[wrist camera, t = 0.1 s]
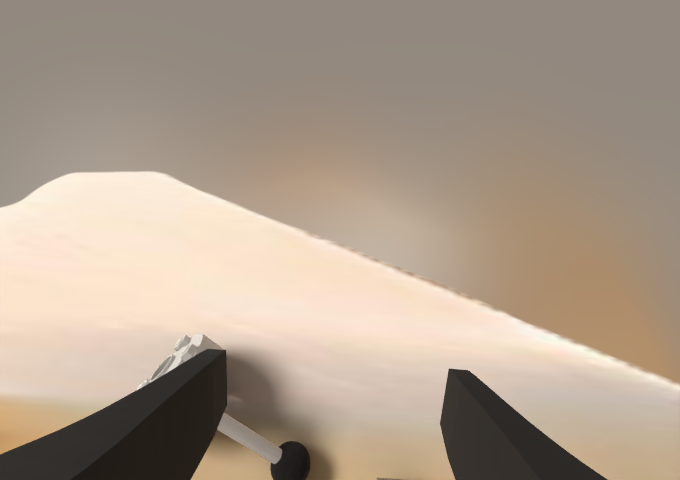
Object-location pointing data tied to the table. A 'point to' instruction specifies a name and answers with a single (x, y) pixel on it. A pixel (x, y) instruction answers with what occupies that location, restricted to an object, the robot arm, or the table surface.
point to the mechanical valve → (285, 460)
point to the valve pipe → (386, 479)
